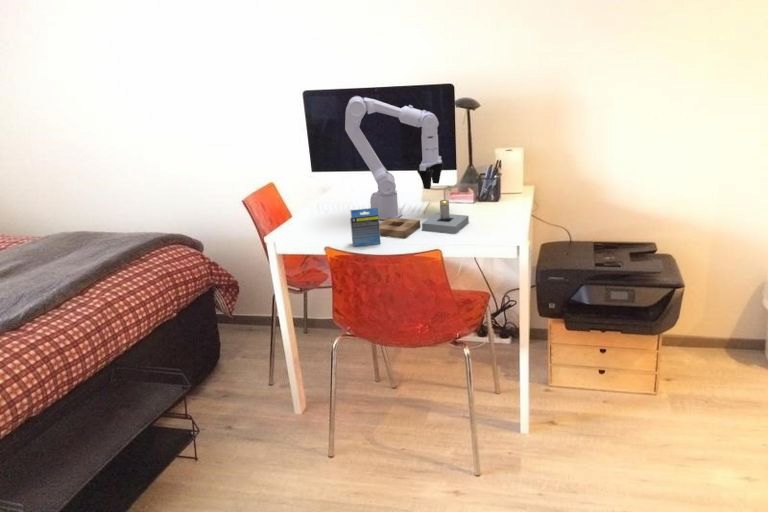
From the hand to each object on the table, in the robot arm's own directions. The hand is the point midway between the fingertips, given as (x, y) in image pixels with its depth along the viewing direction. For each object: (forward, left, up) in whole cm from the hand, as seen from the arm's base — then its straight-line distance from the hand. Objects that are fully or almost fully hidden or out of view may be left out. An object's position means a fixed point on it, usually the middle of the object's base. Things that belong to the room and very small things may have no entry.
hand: (431, 185), depth 217 cm
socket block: (-4, -21, -10) cm, 24 cm away
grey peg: (+10, -12, -10) cm, 19 cm away
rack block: (+10, -12, -10) cm, 19 cm away
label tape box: (-8, -35, -11) cm, 37 cm away
